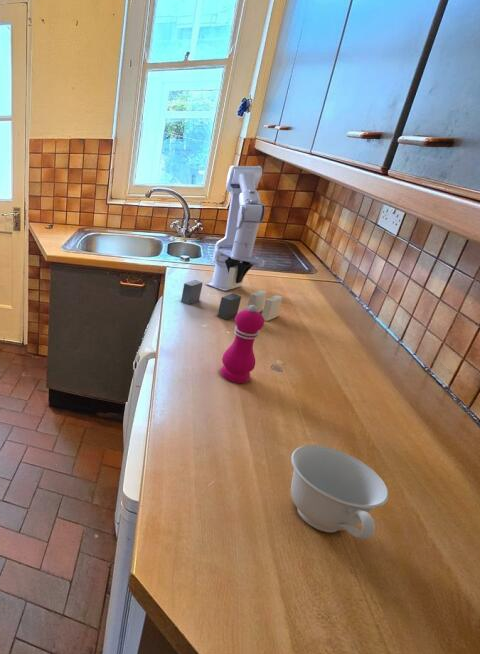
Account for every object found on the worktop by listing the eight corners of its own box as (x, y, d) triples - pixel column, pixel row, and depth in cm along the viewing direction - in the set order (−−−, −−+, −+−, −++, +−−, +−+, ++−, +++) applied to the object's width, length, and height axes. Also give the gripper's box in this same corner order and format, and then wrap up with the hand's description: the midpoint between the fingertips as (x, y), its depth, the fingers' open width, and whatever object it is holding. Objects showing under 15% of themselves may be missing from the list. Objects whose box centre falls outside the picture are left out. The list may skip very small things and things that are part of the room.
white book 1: (255, 308, 138) (261, 289, 135) (261, 311, 136) (267, 291, 133) (245, 313, 135) (250, 293, 132) (251, 315, 134) (256, 295, 131)
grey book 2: (228, 312, 136) (232, 292, 133) (236, 315, 134) (241, 296, 131) (217, 316, 133) (221, 296, 130) (225, 319, 131) (230, 300, 128)
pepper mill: (253, 386, 99) (275, 313, 91) (220, 381, 101) (239, 309, 93) (247, 370, 105) (267, 300, 97) (216, 366, 107) (233, 297, 99)
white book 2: (271, 314, 134) (276, 295, 131) (277, 316, 132) (283, 297, 129) (260, 318, 131) (266, 299, 128) (266, 321, 130) (272, 301, 127)
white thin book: (236, 283, 139) (240, 264, 136) (241, 285, 137) (246, 266, 134) (225, 287, 136) (229, 267, 133) (230, 289, 135) (235, 269, 132)
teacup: (303, 563, 60) (325, 518, 56) (263, 482, 74) (278, 440, 69) (396, 577, 58) (426, 531, 54) (338, 491, 71) (358, 449, 67)
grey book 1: (191, 297, 147) (195, 279, 144) (199, 300, 145) (202, 282, 142) (180, 301, 144) (184, 283, 141) (188, 304, 142) (191, 286, 139)
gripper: (215, 238, 134) (207, 276, 140) (259, 249, 123) (248, 290, 129) (228, 235, 137) (220, 272, 143) (272, 245, 126) (261, 286, 132)
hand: (234, 281), depth 136 cm, fingers closed on white thin book, 2 cm apart
